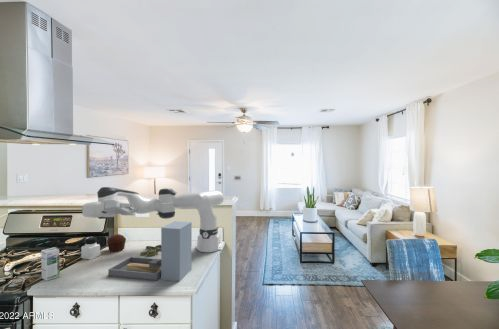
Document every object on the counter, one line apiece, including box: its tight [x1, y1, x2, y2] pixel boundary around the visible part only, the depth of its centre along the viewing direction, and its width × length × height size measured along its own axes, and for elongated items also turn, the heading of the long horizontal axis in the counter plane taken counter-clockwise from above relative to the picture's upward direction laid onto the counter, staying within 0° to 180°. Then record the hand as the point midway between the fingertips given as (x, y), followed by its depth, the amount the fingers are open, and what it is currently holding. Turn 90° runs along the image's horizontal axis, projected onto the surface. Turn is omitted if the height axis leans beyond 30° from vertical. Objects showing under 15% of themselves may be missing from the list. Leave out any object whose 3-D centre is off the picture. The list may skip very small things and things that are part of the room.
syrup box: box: [40, 246, 61, 282], centre depth 130 cm, size 6×6×14 cm
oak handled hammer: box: [127, 258, 161, 272], centre depth 138 cm, size 5×18×6 cm, turn 79°
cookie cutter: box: [140, 244, 161, 258], centre depth 168 cm, size 18×12×2 cm, turn 6°
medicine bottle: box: [80, 236, 101, 260], centre depth 158 cm, size 7×7×12 cm
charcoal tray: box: [107, 256, 161, 282], centre depth 138 cm, size 18×27×4 cm, turn 79°
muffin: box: [106, 233, 127, 253], centre depth 170 cm, size 12×11×10 cm
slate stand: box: [160, 220, 193, 282], centre depth 134 cm, size 14×10×26 cm
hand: (134, 207), depth 142 cm, fingers open, 8 cm apart
